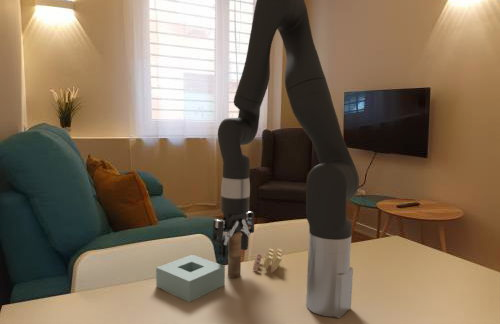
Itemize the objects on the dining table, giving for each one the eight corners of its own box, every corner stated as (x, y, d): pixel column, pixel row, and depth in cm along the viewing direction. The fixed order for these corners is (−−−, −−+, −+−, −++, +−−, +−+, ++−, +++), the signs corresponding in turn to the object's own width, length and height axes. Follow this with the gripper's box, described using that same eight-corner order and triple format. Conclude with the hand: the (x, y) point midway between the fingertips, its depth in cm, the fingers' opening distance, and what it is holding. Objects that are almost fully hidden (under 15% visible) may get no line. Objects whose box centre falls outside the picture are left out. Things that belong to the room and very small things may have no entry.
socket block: (224, 284, 96) (224, 266, 95) (189, 302, 87) (189, 281, 86) (192, 272, 103) (192, 254, 103) (156, 286, 94) (156, 267, 93)
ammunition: (282, 248, 111) (255, 246, 111) (281, 257, 103) (252, 255, 104) (282, 263, 111) (255, 262, 112) (281, 274, 104) (252, 272, 105)
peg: (243, 275, 102) (243, 232, 101) (234, 279, 100) (235, 235, 98) (233, 271, 104) (234, 229, 103) (225, 275, 102) (225, 232, 100)
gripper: (227, 200, 91) (226, 264, 94) (263, 192, 103) (260, 250, 105) (206, 195, 96) (204, 256, 98) (241, 188, 107) (240, 243, 109)
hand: (233, 253), depth 101 cm, fingers open, 8 cm apart
